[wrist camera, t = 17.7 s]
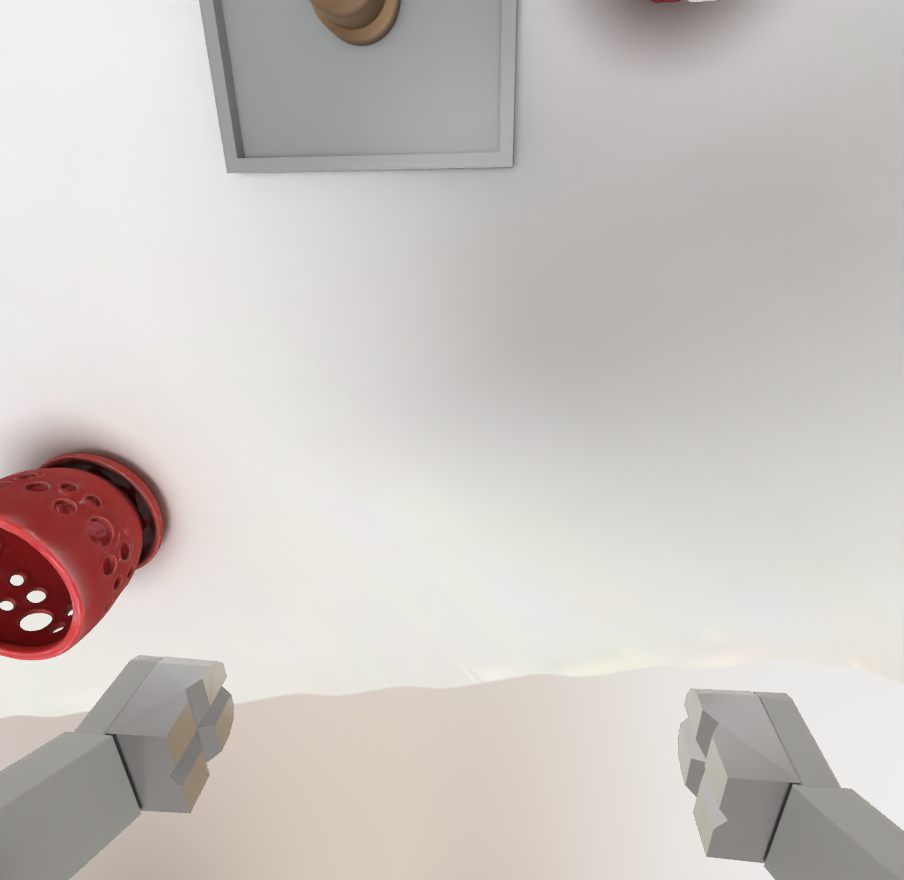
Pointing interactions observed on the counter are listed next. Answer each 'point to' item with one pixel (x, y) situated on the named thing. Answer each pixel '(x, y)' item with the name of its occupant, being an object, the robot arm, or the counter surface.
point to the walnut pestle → (358, 19)
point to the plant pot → (70, 547)
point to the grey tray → (363, 87)
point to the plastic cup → (678, 0)
